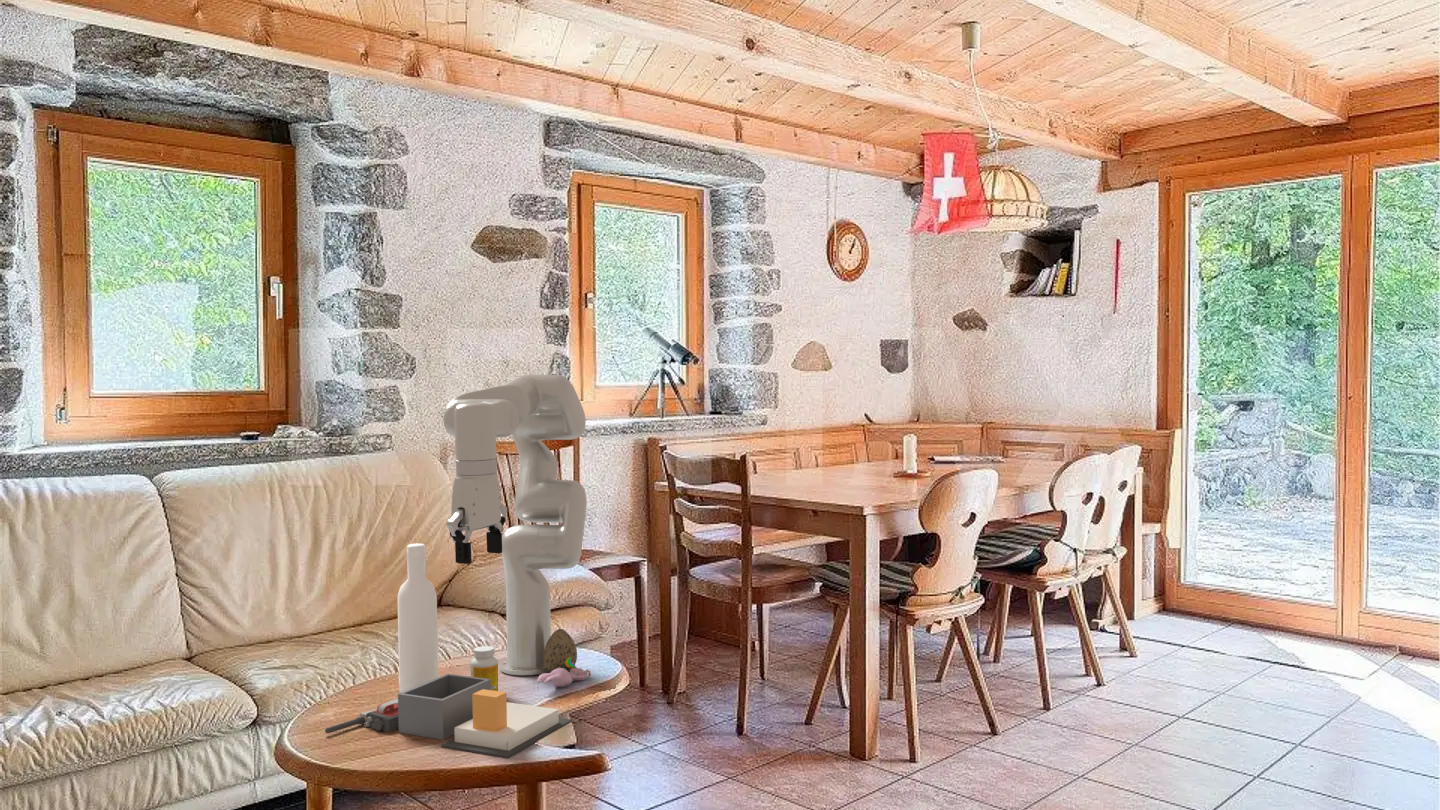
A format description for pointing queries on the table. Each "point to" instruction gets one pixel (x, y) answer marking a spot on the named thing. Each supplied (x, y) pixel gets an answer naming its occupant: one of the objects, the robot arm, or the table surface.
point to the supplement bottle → (485, 665)
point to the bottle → (417, 623)
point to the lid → (503, 721)
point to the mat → (500, 752)
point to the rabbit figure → (565, 675)
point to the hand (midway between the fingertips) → (479, 557)
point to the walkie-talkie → (374, 718)
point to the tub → (438, 705)
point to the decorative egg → (559, 650)
